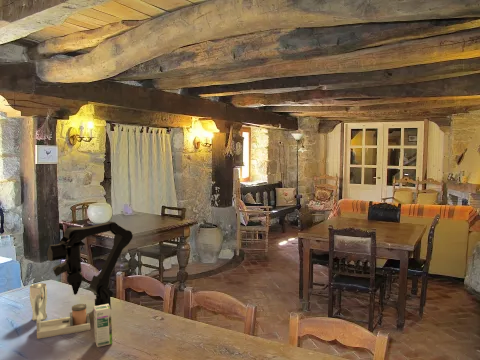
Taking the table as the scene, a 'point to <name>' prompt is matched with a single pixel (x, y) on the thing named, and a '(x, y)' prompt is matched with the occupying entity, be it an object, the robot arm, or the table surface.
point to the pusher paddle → (68, 320)
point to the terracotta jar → (79, 314)
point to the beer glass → (38, 300)
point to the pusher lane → (58, 327)
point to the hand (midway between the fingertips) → (75, 291)
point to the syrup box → (102, 325)
